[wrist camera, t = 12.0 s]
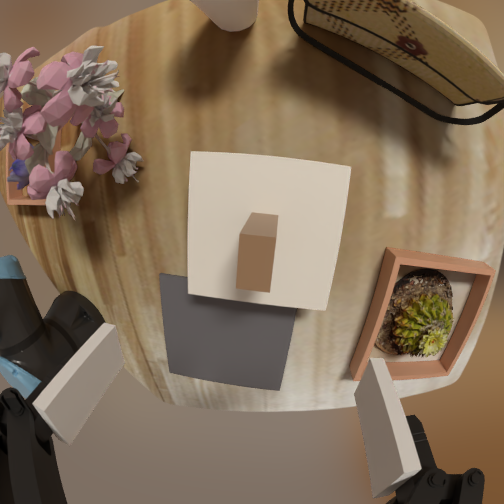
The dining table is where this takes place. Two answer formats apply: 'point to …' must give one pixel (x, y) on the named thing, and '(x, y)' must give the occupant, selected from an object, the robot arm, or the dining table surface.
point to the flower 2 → (62, 121)
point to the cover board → (265, 194)
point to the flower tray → (12, 193)
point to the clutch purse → (410, 49)
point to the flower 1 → (19, 173)
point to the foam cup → (230, 12)
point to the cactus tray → (381, 302)
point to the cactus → (417, 315)
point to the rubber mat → (224, 337)
